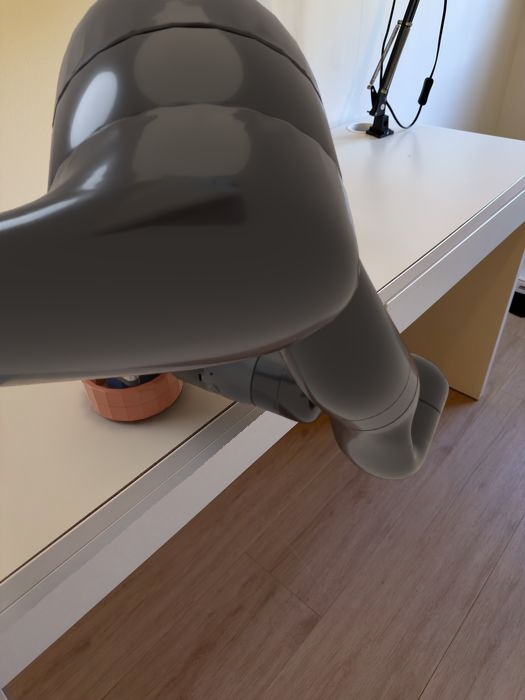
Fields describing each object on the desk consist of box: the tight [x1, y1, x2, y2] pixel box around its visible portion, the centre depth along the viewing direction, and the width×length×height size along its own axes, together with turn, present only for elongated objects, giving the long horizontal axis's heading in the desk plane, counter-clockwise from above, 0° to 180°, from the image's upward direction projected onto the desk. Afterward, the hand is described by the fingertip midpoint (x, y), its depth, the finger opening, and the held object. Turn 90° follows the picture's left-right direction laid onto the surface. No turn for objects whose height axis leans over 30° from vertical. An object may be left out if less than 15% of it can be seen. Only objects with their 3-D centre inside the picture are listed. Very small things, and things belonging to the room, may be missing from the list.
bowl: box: [81, 372, 185, 422], centre depth 62 cm, size 11×11×5 cm
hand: (101, 312), depth 58 cm, fingers closed on tumbler, 6 cm apart
